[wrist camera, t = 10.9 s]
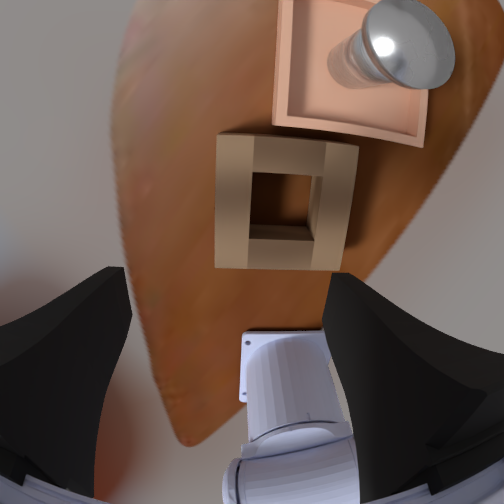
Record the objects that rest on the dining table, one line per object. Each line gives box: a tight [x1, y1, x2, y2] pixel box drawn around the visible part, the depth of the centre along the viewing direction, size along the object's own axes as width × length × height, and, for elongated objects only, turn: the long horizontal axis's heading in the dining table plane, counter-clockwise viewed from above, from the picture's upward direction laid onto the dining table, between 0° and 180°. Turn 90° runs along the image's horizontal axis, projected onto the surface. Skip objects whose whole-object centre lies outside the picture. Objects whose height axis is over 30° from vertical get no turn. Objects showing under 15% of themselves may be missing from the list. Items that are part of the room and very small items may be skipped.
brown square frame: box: [215, 133, 359, 271], centre depth 18 cm, size 8×8×2 cm
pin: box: [327, 0, 455, 90], centre depth 12 cm, size 4×4×8 cm
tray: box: [272, 0, 428, 148], centre depth 15 cm, size 10×10×2 cm
